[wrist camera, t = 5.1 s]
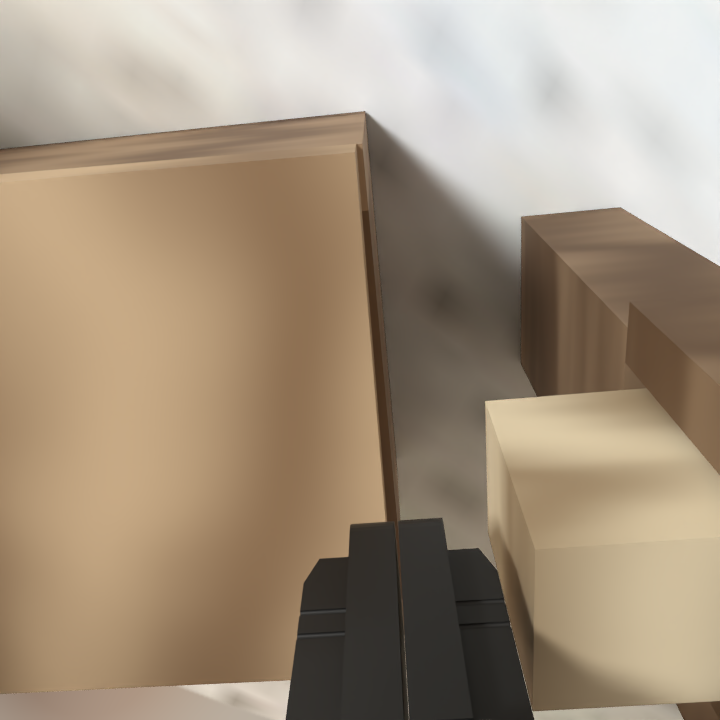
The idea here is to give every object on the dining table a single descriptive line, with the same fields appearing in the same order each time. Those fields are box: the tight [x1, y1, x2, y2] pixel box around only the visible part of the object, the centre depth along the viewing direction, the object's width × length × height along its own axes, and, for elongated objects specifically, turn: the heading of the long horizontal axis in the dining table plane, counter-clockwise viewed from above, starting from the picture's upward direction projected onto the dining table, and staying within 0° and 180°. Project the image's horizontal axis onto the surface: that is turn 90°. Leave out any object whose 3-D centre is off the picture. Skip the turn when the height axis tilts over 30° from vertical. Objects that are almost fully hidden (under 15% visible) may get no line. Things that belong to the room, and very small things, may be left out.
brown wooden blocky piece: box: [0, 111, 720, 720], centre depth 15 cm, size 28×12×15 cm, turn 96°
